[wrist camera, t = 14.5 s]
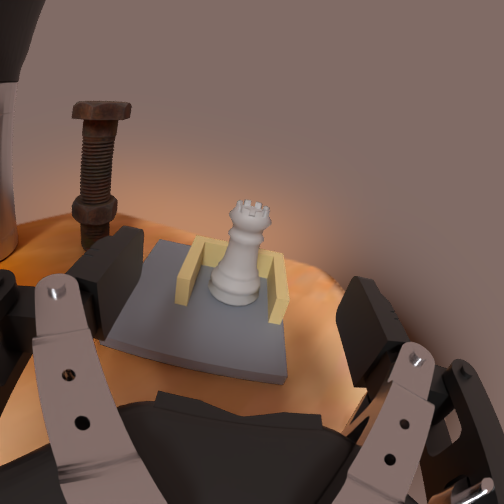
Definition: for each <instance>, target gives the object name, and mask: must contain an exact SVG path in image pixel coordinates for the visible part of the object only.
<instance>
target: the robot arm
mask: <svg viewBox="0 0 504 504" xmlns="http://www.w3.org/2000/svg"><path fill="white" fill-rule="evenodd" d="M44 3H45V0H0V261H1V260H3V259H4V258H6V257H7V256H8V255H9V254H10V253H12V252H13V250H14V249H15V248H16V246H17V244H18V233H17V225H16V217H15V205H14V193H13V170H12V146H13V123H14V111H15V100H16V93H17V86H18V83H17V82H18V80H19V74H20V70H21V67H22V65H23V62H24V60H25V58H26V55H27V53H28V50H29V46H30V43H31V40H32V36H33V33H34V30H35V27H36V24H37V21H38V18H39V15H40V13H41V10H42V8H43V5H44ZM143 243H144V232H143V230H142V229H138V228H133V227H129V226H122V227H121V228H120V229H119V230H118V231H117V232H116V233H115V234H114V235H113V236H109V235H108V236H106V237H104V238H102V239H100V240H97V241H96V242H95V243H94V244H93V245H92V246H91V247H90V249H88V250H87V251H86V252H85V253H84V255H82V257H81V258H80V259H79V260H78V261H77V262H76V263H75V264H74V265H73V266H72V267H71V268H70V269H69V270H68V271H67V272H66V273H65V274H52V275H49V276H46V277H44V278H43V279H41V280H40V281H39V282H38V283H37V285H36V287H31V286H18V285H17V283H16V279H15V276H14V274H13V273H12V272H11V271H9V270H4V269H0V417H1V414H2V412H3V410H4V408H5V406H6V404H7V401H8V399H9V397H10V395H11V393H12V391H13V389H14V387H15V385H16V383H17V381H18V379H19V378H20V376H21V374H22V372H23V370H24V368H25V366H26V365H27V363H28V361H29V359H30V358H31V356H32V354H33V357H34V365H35V373H36V380H37V386H38V392H39V398H40V403H41V408H42V412H43V417H44V421H45V425H46V429H47V433H48V437H49V441H50V443H48V444H46V445H44V446H42V447H40V448H38V449H36V450H34V451H32V452H30V453H28V454H26V455H24V456H22V457H20V458H18V459H15V460H13V461H11V462H9V463H7V464H4V465H2V466H0V504H418V503H417V502H416V501H415V500H414V499H413V498H411V497H410V496H409V495H408V494H407V492H408V490H409V488H410V485H411V483H412V480H413V478H414V475H415V472H416V469H417V467H418V464H419V462H420V466H421V471H422V476H423V481H424V486H425V492H426V498H427V504H504V433H503V431H502V428H501V425H500V423H499V420H498V418H497V416H496V413H495V411H494V409H493V406H492V404H491V402H490V400H489V398H488V395H487V393H486V391H485V389H484V387H483V385H482V382H481V380H480V378H479V377H478V374H477V372H476V371H475V369H474V368H473V367H472V366H471V365H470V364H469V363H467V362H466V361H464V360H461V359H456V360H454V361H453V362H452V363H451V365H450V366H449V367H448V368H444V367H441V366H438V365H435V362H434V359H433V357H432V355H431V354H430V353H429V351H428V350H427V349H425V348H424V347H423V346H421V345H419V344H417V343H413V342H410V340H409V338H408V336H407V334H406V332H405V330H404V328H403V326H402V324H401V322H400V321H399V320H398V317H397V315H396V313H394V312H395V311H394V309H393V307H392V305H391V303H390V302H389V301H388V300H387V299H386V298H385V297H384V296H383V295H382V294H381V293H380V291H379V289H378V287H377V286H376V284H375V282H374V280H372V279H368V278H363V277H358V276H354V277H353V278H352V279H351V281H350V283H349V285H348V287H347V290H346V292H345V294H344V296H343V298H342V300H341V302H340V304H339V306H338V309H337V312H336V324H337V327H338V331H339V334H340V338H341V341H342V345H343V348H344V352H345V356H346V359H347V363H348V367H349V370H350V374H351V378H352V382H353V386H354V387H359V388H367V392H366V393H365V395H364V396H363V397H362V399H361V401H360V402H359V404H358V406H357V408H356V409H355V411H354V413H353V414H352V416H351V418H350V419H349V421H348V423H347V424H346V426H345V428H344V429H343V431H342V432H341V433H339V432H337V431H335V430H333V429H330V428H327V427H324V426H322V419H321V415H318V414H300V413H287V412H282V413H274V414H266V415H256V416H238V415H235V414H233V413H230V412H227V411H225V410H222V409H220V408H217V407H215V406H212V405H210V404H207V403H205V402H203V401H200V400H197V399H192V398H187V397H183V396H178V395H174V394H170V393H166V392H162V391H158V393H157V396H156V400H155V401H145V402H135V403H129V404H125V405H122V406H119V407H116V405H115V403H114V400H113V398H112V395H111V392H110V390H109V387H108V384H107V382H106V379H105V376H104V373H103V370H102V367H101V364H100V361H99V358H98V355H97V352H96V349H95V345H94V342H93V338H95V339H98V340H101V341H104V342H105V340H106V338H107V336H108V334H109V332H110V331H111V329H112V327H113V325H114V323H115V321H116V320H117V318H118V316H119V314H120V313H121V311H122V309H123V307H124V306H125V304H126V302H127V300H128V299H129V297H130V295H131V294H132V292H133V290H134V289H135V287H136V285H137V284H138V282H139V280H140V277H141V273H142V266H143ZM453 409H456V412H457V415H458V418H459V421H460V424H461V428H462V431H461V435H460V437H459V438H458V439H457V440H456V441H455V442H454V443H453V444H452V442H451V439H450V435H449V432H448V429H447V426H446V423H445V420H444V418H445V417H446V416H447V415H448V414H449V413H450V412H452V411H453Z"/></svg>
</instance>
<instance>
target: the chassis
mask: <svg viewBox="0 0 504 504" xmlns="http://www.w3.org/2000/svg"><path fill="white" fill-rule="evenodd" d="M228 244H229V242H227V241H222V240H217V239H213V238H208V237H203V236H199V235H196V237H195V239H194V241H193V244H192V246H189V245H185V244H180V243H175V242H171V241H166V240H161V239H160V240H159V241H158V242H157V244H156V245H155V247H154V248H153V250H152V251H151V252H150V254H149V255H148V257H147V258H146V260H145V261H144V263H143V266H142V273H141V277H140V280H139V282H138V284H137V285H136V287H135V289H134V290H133V292H132V294H131V295H130V297H129V299H128V300H127V302H126V304H125V306H124V307H123V309H122V311H121V313H120V314H119V316H118V318H117V320H116V321H115V323H114V325H113V327H112V329H111V331H110V332H109V334H108V336H107V338H106V340H105V342H104V341H101V340H99V341H100V344H101V345H104V346H107V347H110V348H113V349H116V350H120V351H123V352H126V353H130V354H133V355H136V356H140V357H144V358H147V359H151V360H155V361H158V362H162V363H166V364H170V365H174V366H179V367H183V368H187V369H192V370H197V371H201V372H206V373H211V374H216V375H222V376H227V377H233V378H239V379H245V380H251V381H258V382H265V383H273V384H281V385H283V384H284V382H285V380H286V378H287V363H286V351H285V339H284V327H283V317H284V314H285V311H286V309H287V306H288V304H289V301H290V300H289V292H288V285H287V277H286V270H285V263H284V256H283V253H278V252H273V251H269V250H264V249H259V250H258V258H257V269H258V271H259V277H260V289H259V296H258V298H257V299H256V300H255V301H254V302H252V303H250V304H248V305H246V306H240V307H234V306H229V305H225V304H223V303H221V302H219V301H218V300H217V299H216V298H215V297H214V296H213V295H212V294H211V292H210V290H209V287H208V283H209V280H210V279H211V278H210V276H211V272H212V270H213V268H215V267H216V266H217V265H218V262H220V261H221V260H222V259H223V257H224V255H225V252H226V249H227V247H228Z"/></svg>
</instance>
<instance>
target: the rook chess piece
mask: <svg viewBox="0 0 504 504" xmlns="http://www.w3.org/2000/svg"><path fill="white" fill-rule="evenodd" d="M242 203H243V201H241V200H239V201H237V205H236V207H235V208H234V209H233V210H231V211H230V213H229V216H230V218H231V220H232V222H233V227H232V228H231V229H230V230H229V233H228V234H229V235H230V240H229V244H228V247H227V249H226V252H225V255H224V257H223V259H222V260H221V261H220V262H218V265H217V266H216V267H215V268H213V270H212V272H211V276H210V278H211V279H210V280H209V283H208V287H209V290H210V292H211V294H212V295H213V296H214V297H215V298H216V299H217V300H218V301H219V302H221V303H223V304H225V305H229V306H234V307H240V306H246V305H248V304H250V303H252V302H254V301H255V300H256V299H257V298H258V296H259V289H260V277H259V271H258V269H257V258H258V250H259V246H260V244H261V243H262V242H263V241H264V238H263V235H262V233H263V230H265V229H266V228H267V227H268V226H270V225H271V219H270V217H269V212H270V211H269V207H268V206H264V208H263V210H262V209H261V207H262V203H260V202H256V205H255V207H254V206H250V204H251V200H245V201H244V205H242Z"/></svg>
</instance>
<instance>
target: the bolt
mask: <svg viewBox="0 0 504 504" xmlns="http://www.w3.org/2000/svg"><path fill="white" fill-rule="evenodd" d="M131 107H132V106H131V104H130V103H127V102H114V101H113V102H112V101H79V102H77V103H76V104H75V105H74V106H73V112H72V118H73V119H84V122H83V131H82V136H83V141H82V142H83V144H82V146H83V147H82V150H83V151H82V153H83V154H82V158H81V160H82V161H81V164H82V165H81V175H80V177H81V179H80V180H81V182H80V184H81V185H80V187H81V188H80V191H81V192H80V194H81V195H80V196H78V197H77V198H76V199H75V201H74V202H73V205H72V216H73V218H74V219H75V220H76V221H78V222H79V223H81V224H80V225H81V226H80V227H81V242H82V243H81V244H82V247H83V249H84V250H85V251H87V250H88V249H90V247H91V246H92V245H93V244H94V243H95V242H96V241H97V240H100V239H102V238H104V237H106V236H108V235H109V228H110V227H109V222H110V221H112V220H113V219H114V217H115V215H116V212H117V199H116V198H115V197H114V196H112V195H110V191H111V189H110V188H111V186H110V185H111V171H112V169H111V168H112V158H113V156H112V155H113V151H114V149H113V148H114V141H115V136H116V133H117V126H118V120H124V119H128V118H130V113H131Z"/></svg>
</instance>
